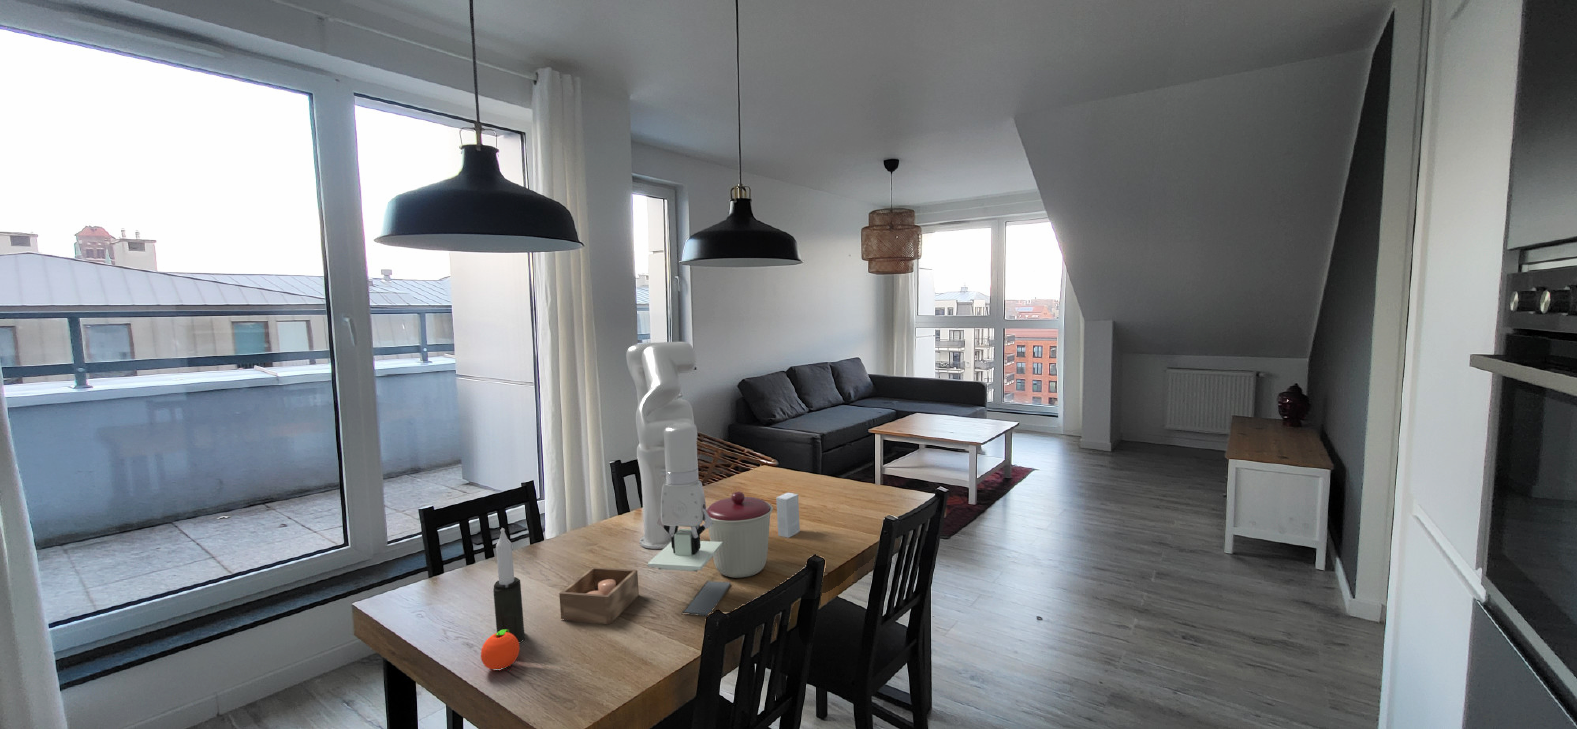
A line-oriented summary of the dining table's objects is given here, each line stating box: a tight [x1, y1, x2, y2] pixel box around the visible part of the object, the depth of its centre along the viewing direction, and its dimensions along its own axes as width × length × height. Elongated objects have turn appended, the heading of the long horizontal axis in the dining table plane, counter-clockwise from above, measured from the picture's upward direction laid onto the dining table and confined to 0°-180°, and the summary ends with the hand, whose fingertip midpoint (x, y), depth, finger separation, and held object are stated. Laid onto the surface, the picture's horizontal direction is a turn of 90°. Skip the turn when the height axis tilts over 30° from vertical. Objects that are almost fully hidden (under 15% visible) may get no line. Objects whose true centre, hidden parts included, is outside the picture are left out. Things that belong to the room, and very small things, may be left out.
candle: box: [492, 527, 525, 643], centre depth 129 cm, size 5×5×25 cm
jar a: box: [598, 579, 616, 595], centre depth 145 cm, size 4×4×4 cm
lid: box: [646, 528, 722, 572], centre depth 146 cm, size 15×13×7 cm
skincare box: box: [776, 491, 801, 539], centre depth 186 cm, size 6×4×12 cm
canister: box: [706, 491, 774, 579], centre depth 161 cm, size 18×18×21 cm
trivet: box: [682, 580, 731, 617], centre depth 147 cm, size 16×16×1 cm
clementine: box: [480, 629, 520, 670], centre depth 121 cm, size 8×7×7 cm
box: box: [558, 566, 640, 625], centre depth 142 cm, size 14×12×7 cm
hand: (686, 551), depth 146 cm, fingers closed on lid, 4 cm apart
